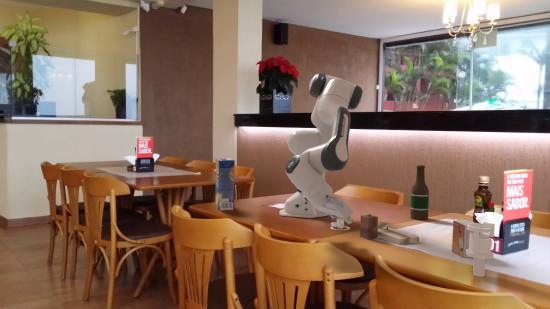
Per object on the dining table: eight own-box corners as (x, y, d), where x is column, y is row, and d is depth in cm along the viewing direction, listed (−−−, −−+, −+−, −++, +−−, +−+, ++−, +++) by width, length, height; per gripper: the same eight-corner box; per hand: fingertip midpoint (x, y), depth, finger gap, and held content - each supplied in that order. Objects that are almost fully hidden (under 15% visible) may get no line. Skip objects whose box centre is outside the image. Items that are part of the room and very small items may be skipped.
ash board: (399, 244, 165) (399, 238, 165) (368, 233, 181) (368, 228, 181) (419, 242, 169) (419, 236, 169) (386, 231, 185) (387, 226, 185)
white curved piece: (329, 226, 196) (329, 216, 196) (348, 226, 196) (348, 217, 196) (330, 231, 188) (331, 220, 187) (351, 231, 187) (351, 221, 187)
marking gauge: (367, 239, 173) (367, 215, 172) (360, 236, 177) (360, 213, 176) (392, 236, 177) (393, 213, 177) (385, 234, 181) (385, 211, 181)
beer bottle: (429, 220, 209) (430, 166, 207) (410, 219, 210) (412, 165, 209) (427, 217, 216) (428, 165, 215) (409, 216, 218) (411, 164, 217)
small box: (451, 251, 157) (452, 219, 157) (467, 251, 158) (468, 219, 157) (463, 258, 149) (464, 225, 149) (480, 257, 150) (481, 224, 149)
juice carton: (234, 209, 230) (234, 160, 229) (219, 210, 228) (219, 160, 227) (229, 205, 242) (230, 158, 240) (215, 206, 240) (215, 158, 238)
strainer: (487, 280, 127) (489, 225, 126) (461, 275, 132) (463, 221, 131) (496, 274, 132) (498, 221, 131) (470, 269, 137) (472, 218, 136)
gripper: (342, 191, 157) (365, 218, 161) (311, 184, 175) (333, 208, 180) (330, 205, 155) (354, 232, 160) (300, 196, 173) (322, 221, 178)
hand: (343, 219), depth 170 cm, fingers open, 8 cm apart
